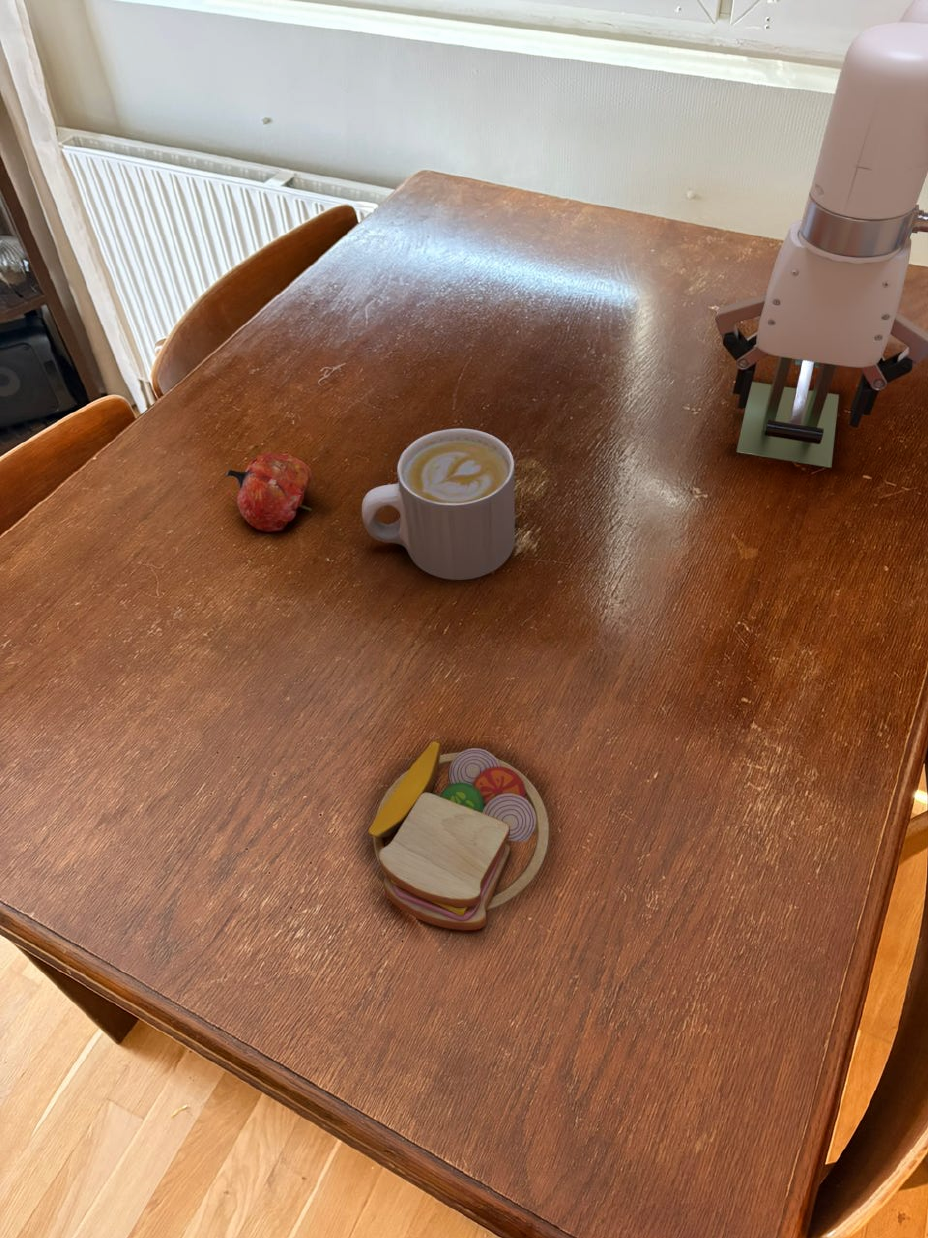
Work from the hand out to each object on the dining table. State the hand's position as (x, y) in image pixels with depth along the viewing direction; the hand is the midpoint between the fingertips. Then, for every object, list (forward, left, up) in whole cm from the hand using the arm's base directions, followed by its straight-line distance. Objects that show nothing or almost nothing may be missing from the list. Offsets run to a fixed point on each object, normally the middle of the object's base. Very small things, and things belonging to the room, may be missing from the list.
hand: (797, 408), depth 80 cm
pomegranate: (+31, +37, -9) cm, 49 cm away
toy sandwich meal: (-6, +48, -9) cm, 49 cm away
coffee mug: (+17, +29, -9) cm, 34 cm away
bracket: (+4, -7, -9) cm, 12 cm away
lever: (+2, -5, -2) cm, 5 cm away
